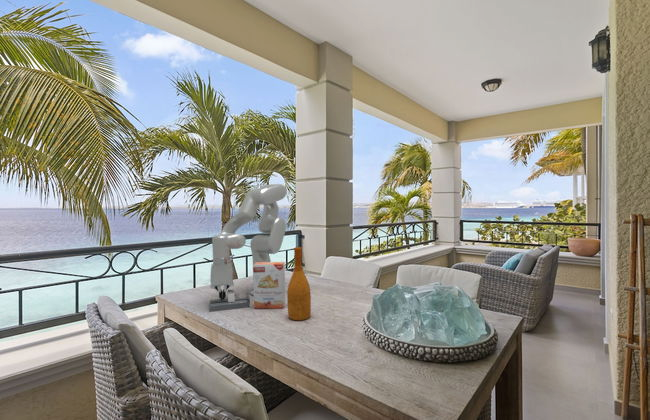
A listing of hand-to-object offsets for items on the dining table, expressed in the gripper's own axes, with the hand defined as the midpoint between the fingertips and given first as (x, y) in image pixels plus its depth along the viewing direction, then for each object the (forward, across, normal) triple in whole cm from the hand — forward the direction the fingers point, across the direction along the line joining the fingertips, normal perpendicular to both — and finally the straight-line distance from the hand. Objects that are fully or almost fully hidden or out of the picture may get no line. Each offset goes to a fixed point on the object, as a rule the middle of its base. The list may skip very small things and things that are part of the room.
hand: (222, 299), depth 148 cm
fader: (+2, -4, 0) cm, 4 cm away
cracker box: (+4, -21, +8) cm, 23 cm away
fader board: (+4, -3, 0) cm, 5 cm away
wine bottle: (+4, -32, +26) cm, 41 cm away
